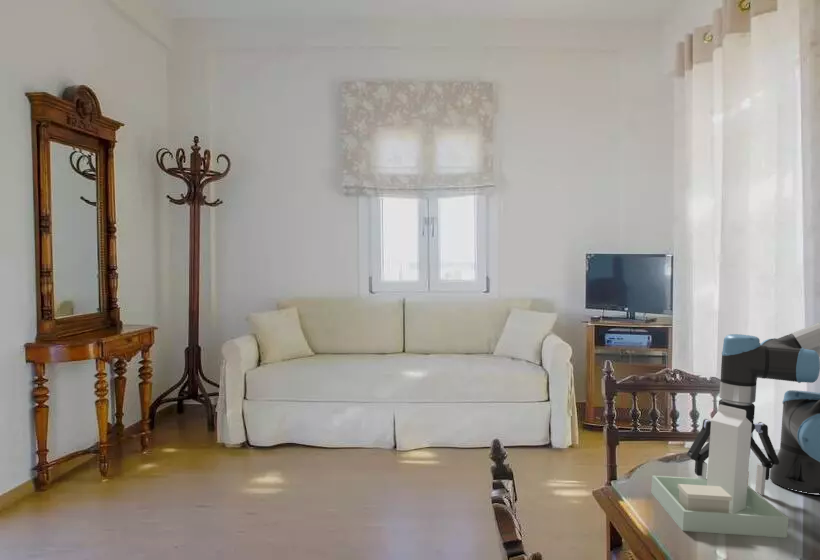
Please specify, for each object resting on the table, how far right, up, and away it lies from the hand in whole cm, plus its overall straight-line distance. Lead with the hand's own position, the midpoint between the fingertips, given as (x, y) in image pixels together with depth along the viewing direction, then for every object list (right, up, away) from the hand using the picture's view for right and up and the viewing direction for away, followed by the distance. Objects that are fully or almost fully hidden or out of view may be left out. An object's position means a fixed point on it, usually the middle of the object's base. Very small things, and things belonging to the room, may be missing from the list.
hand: (730, 491), depth 151 cm
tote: (-11, -1, -14) cm, 18 cm away
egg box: (-16, 0, -20) cm, 25 cm away
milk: (-6, 0, -11) cm, 13 cm away
